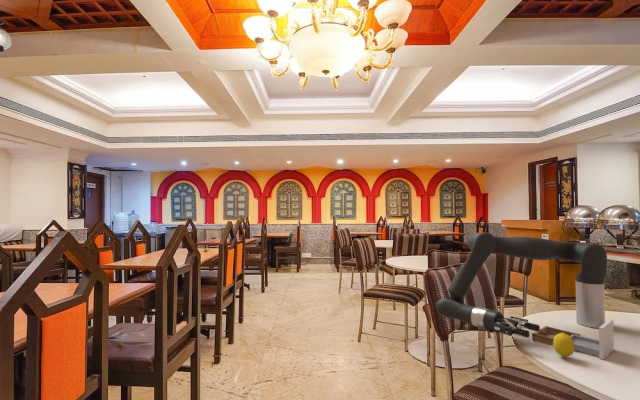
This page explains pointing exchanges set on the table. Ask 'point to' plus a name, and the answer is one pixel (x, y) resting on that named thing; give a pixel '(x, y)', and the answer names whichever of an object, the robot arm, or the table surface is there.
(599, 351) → the tray
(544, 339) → the frame
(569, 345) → the lemon
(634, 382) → the table surface
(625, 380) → the table surface
